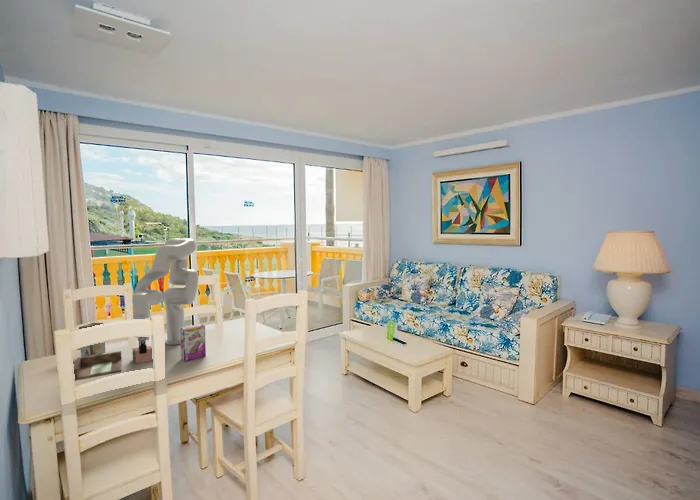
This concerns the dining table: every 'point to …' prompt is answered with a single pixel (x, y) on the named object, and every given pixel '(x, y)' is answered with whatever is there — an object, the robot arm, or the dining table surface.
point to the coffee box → (92, 349)
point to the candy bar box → (192, 342)
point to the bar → (142, 355)
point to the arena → (97, 365)
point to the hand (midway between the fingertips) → (142, 350)
